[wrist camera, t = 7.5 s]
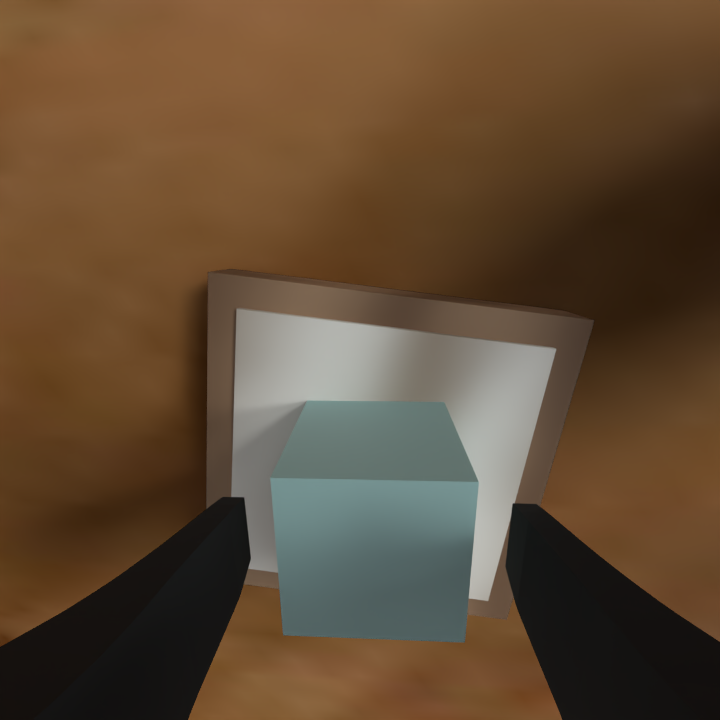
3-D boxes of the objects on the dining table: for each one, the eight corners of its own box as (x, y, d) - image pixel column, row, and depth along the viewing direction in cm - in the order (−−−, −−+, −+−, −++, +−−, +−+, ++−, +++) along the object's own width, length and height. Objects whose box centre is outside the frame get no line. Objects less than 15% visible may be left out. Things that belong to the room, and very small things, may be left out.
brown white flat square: (564, 310, 14) (598, 321, 12) (492, 578, 17) (508, 624, 15) (231, 268, 14) (205, 272, 12) (225, 542, 17) (203, 583, 15)
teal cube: (444, 402, 12) (478, 482, 8) (437, 518, 14) (464, 642, 9) (307, 400, 13) (270, 477, 8) (312, 515, 14) (283, 635, 10)
